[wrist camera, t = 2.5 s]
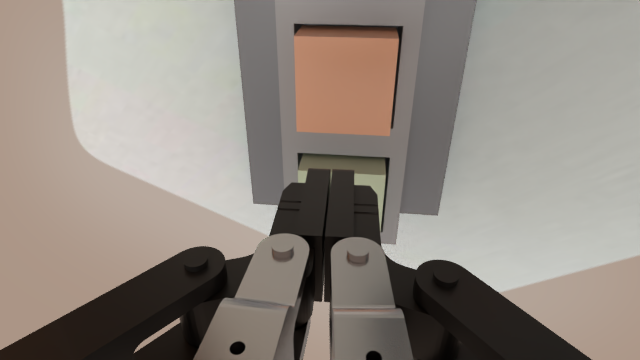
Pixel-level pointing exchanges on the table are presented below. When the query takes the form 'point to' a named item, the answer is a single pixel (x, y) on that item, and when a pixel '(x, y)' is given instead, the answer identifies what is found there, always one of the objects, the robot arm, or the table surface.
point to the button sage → (364, 169)
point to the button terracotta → (345, 79)
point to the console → (408, 101)
